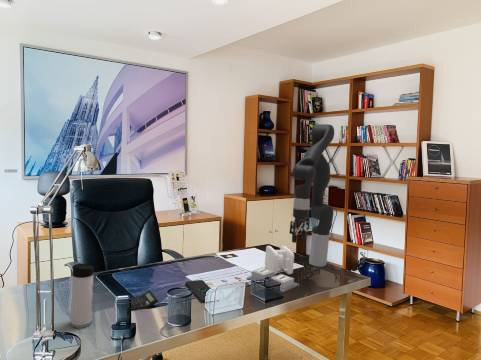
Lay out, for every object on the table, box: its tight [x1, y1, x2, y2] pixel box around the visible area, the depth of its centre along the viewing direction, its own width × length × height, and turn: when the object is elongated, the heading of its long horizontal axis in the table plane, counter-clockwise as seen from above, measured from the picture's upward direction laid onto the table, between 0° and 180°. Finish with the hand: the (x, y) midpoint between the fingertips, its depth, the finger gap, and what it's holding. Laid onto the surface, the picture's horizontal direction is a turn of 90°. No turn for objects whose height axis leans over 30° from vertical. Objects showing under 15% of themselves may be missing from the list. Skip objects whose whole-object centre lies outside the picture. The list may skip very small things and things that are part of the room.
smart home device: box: [185, 279, 212, 304], centre depth 155 cm, size 8×2×20 cm
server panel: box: [246, 267, 300, 294], centre depth 172 cm, size 13×20×4 cm, turn 50°
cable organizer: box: [264, 245, 295, 275], centre depth 187 cm, size 15×11×12 cm
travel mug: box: [70, 263, 94, 329], centre depth 121 cm, size 6×7×20 cm
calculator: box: [129, 290, 159, 312], centre depth 140 cm, size 9×12×3 cm
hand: (298, 240), depth 179 cm, fingers open, 8 cm apart
